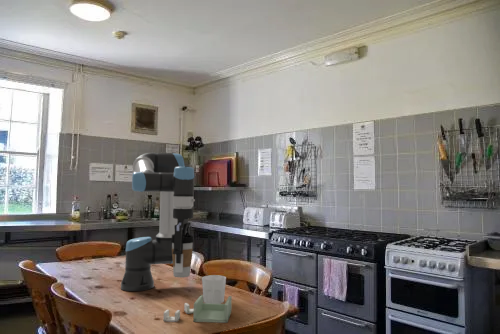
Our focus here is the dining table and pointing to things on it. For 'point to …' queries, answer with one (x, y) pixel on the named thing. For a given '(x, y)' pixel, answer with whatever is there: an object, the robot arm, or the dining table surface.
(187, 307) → the clip
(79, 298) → the dining table surface
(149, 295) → the dining table surface
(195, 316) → the holder
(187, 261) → the coffee cup
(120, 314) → the dining table surface
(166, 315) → the clip
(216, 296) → the cup
